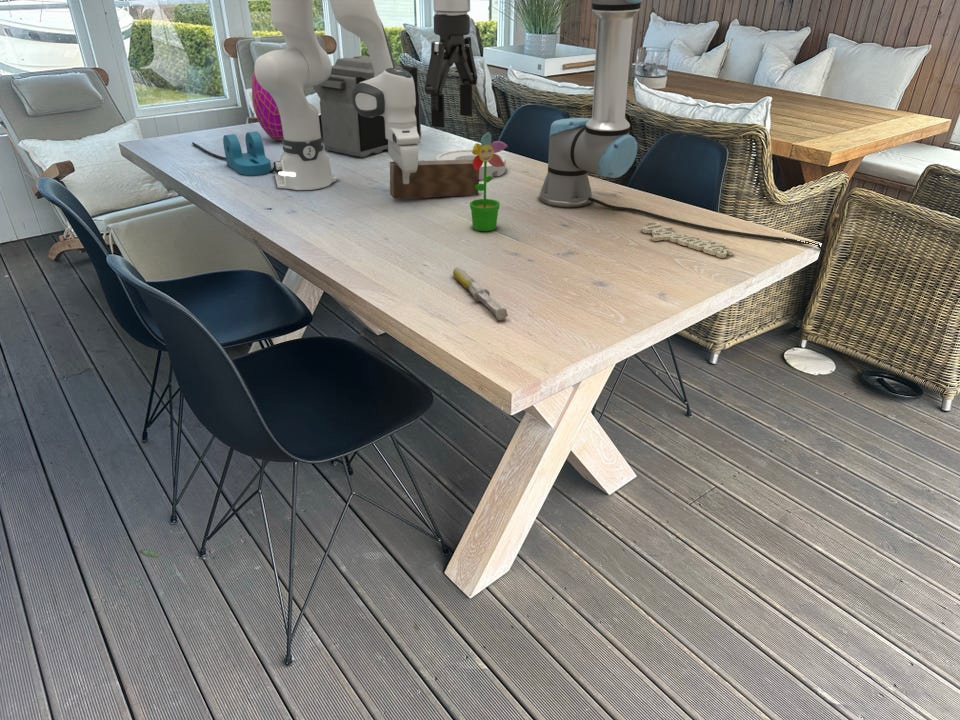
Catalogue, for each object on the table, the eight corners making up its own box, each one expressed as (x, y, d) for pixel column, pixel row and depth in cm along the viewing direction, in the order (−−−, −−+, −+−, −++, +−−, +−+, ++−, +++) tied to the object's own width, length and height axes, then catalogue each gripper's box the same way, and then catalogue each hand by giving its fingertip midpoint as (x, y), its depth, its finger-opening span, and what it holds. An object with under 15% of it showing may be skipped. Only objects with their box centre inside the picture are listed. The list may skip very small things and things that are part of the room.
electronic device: (383, 133, 276) (378, 52, 261) (425, 141, 265) (422, 56, 250) (314, 150, 251) (304, 61, 235) (358, 160, 240) (350, 67, 224)
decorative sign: (628, 228, 179) (651, 220, 185) (628, 232, 180) (651, 224, 186) (717, 257, 162) (740, 248, 168) (716, 261, 163) (739, 251, 169)
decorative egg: (293, 132, 276) (283, 50, 261) (319, 140, 264) (310, 56, 249) (249, 139, 265) (236, 54, 250) (273, 148, 253) (261, 60, 238)
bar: (473, 190, 211) (474, 159, 206) (478, 195, 207) (479, 163, 202) (389, 194, 202) (389, 161, 197) (393, 198, 198) (393, 165, 194)
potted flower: (476, 234, 177) (477, 135, 164) (462, 225, 183) (462, 128, 170) (508, 229, 181) (511, 131, 168) (493, 220, 187) (496, 125, 174)
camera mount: (227, 164, 233) (221, 132, 227) (257, 160, 238) (252, 129, 233) (244, 176, 220) (239, 143, 215) (276, 172, 225) (271, 139, 220)
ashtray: (439, 160, 240) (438, 148, 238) (505, 161, 240) (505, 150, 238) (433, 179, 220) (432, 166, 218) (505, 180, 220) (505, 168, 218)
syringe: (449, 274, 155) (449, 263, 153) (465, 272, 156) (464, 260, 154) (490, 323, 135) (491, 310, 133) (508, 319, 136) (508, 307, 134)
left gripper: (381, 124, 200) (384, 171, 207) (398, 140, 183) (400, 191, 190) (402, 123, 201) (404, 170, 208) (421, 138, 185) (422, 189, 192)
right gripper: (462, 9, 152) (462, 109, 163) (404, 16, 132) (409, 130, 143) (493, 10, 149) (491, 112, 160) (439, 18, 130) (441, 133, 140)
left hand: (403, 180), depth 199 cm, fingers open, 5 cm apart
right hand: (452, 121), depth 151 cm, fingers open, 13 cm apart
